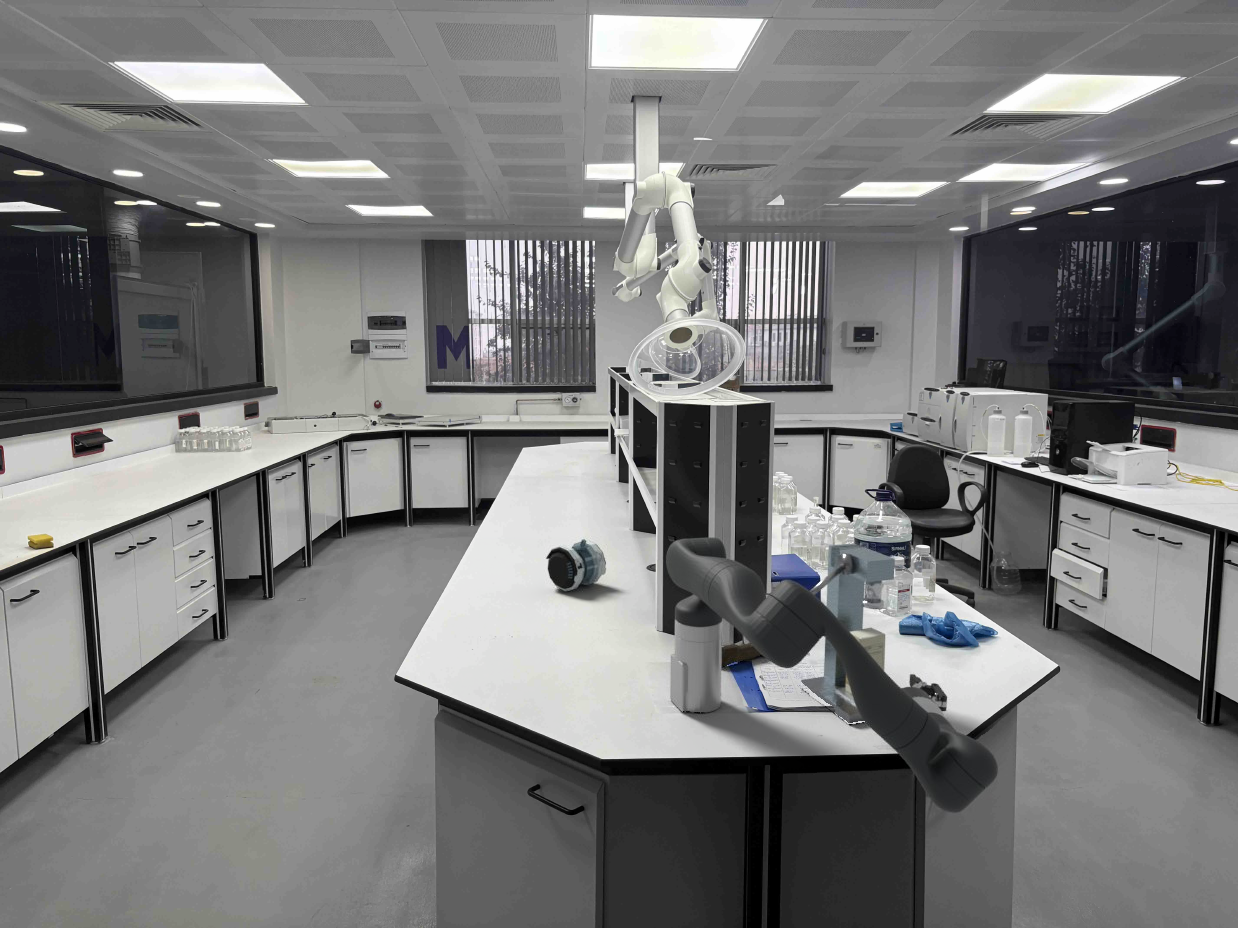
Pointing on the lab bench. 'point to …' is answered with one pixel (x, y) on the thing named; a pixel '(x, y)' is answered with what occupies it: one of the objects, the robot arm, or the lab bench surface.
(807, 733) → the lab bench surface
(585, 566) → the gadget
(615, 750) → the lab bench surface
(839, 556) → the arbor press
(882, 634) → the skincare box
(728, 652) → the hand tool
